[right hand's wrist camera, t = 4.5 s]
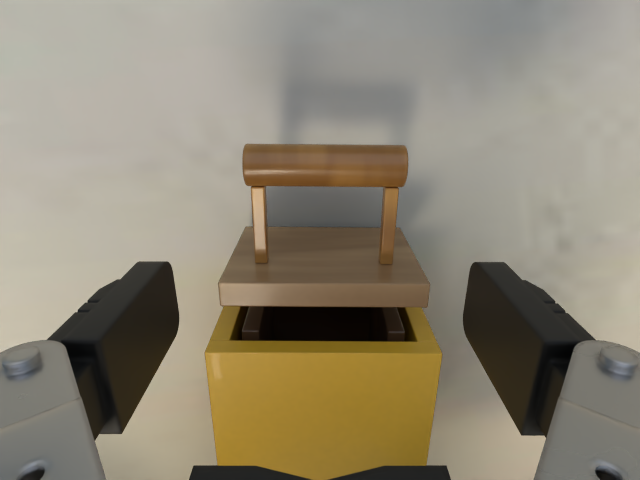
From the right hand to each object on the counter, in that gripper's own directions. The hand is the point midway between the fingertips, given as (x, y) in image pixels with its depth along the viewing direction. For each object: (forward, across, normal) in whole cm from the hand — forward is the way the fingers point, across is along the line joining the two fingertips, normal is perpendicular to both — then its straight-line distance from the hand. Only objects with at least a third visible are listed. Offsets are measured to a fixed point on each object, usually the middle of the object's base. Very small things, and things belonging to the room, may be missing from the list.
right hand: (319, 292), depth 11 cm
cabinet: (+14, 0, +14) cm, 20 cm away
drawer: (+13, 0, +8) cm, 15 cm away
